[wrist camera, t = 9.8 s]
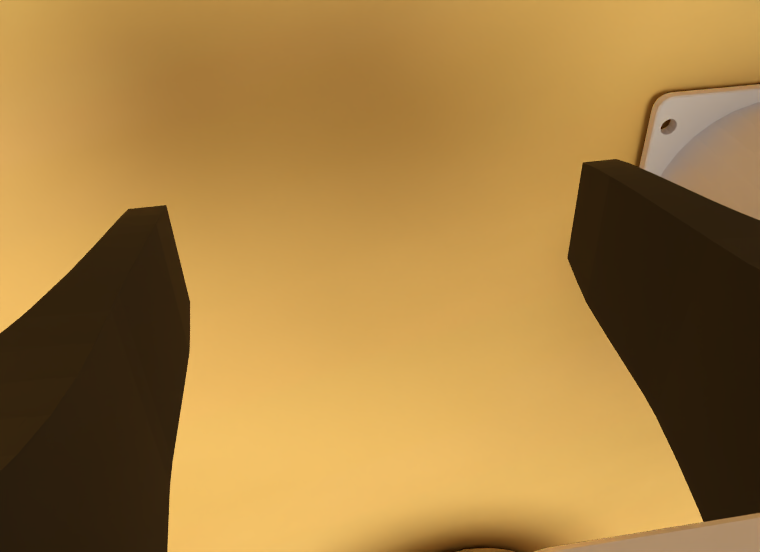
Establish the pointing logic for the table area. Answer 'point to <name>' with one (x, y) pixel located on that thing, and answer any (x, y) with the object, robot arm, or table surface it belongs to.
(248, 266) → the table surface
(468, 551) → the planter bowl
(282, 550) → the table surface
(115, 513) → the robot arm
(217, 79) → the table surface
